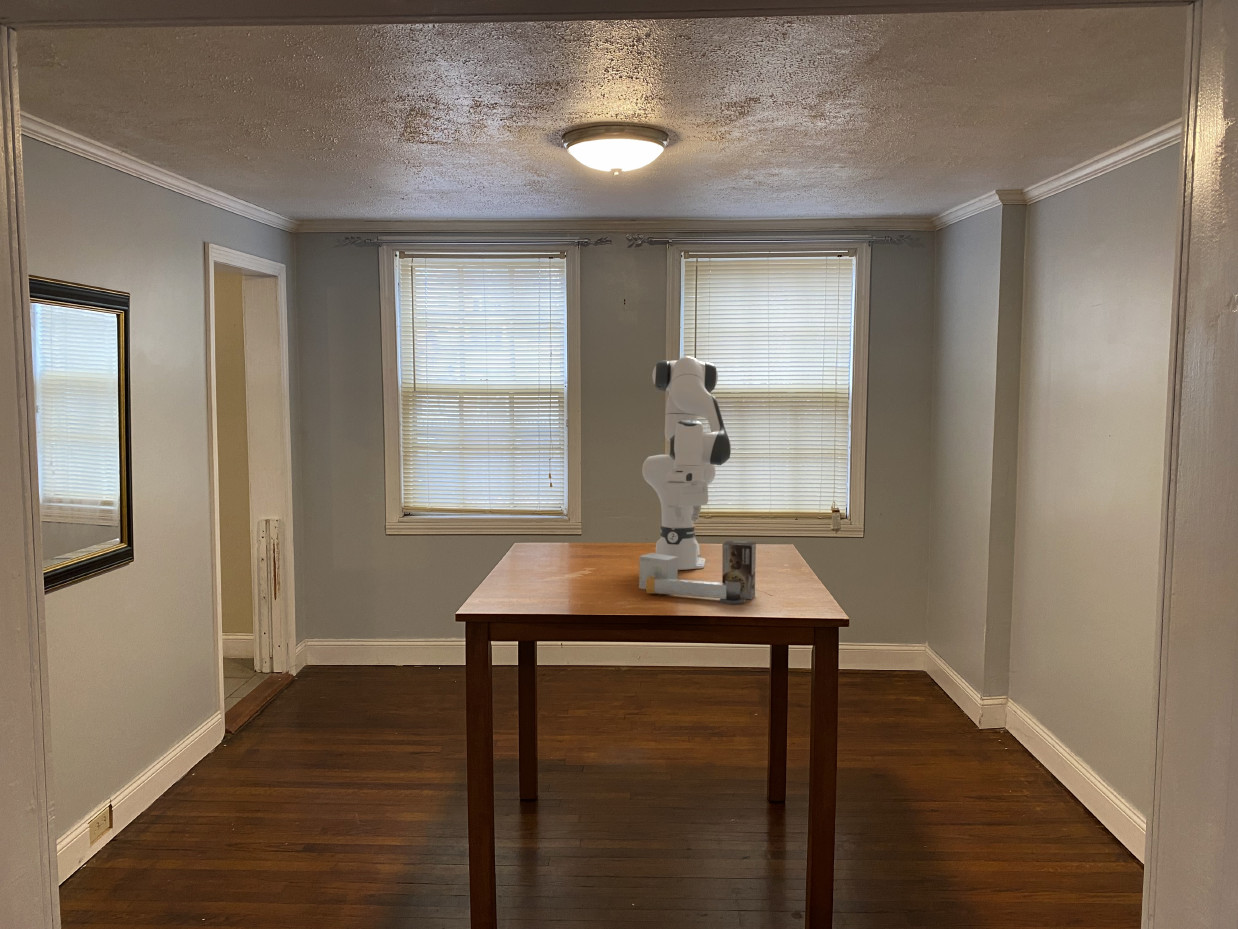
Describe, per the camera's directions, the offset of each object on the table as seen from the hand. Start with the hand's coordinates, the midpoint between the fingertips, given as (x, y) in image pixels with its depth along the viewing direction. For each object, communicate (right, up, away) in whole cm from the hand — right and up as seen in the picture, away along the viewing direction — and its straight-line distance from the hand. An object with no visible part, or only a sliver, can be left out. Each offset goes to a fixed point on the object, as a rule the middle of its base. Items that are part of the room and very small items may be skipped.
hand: (687, 521), depth 262 cm
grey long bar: (+1, -22, -2) cm, 22 cm away
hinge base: (+13, -23, -6) cm, 27 cm away
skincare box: (-8, -22, +10) cm, 25 cm away
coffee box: (+15, -23, +2) cm, 27 cm away
